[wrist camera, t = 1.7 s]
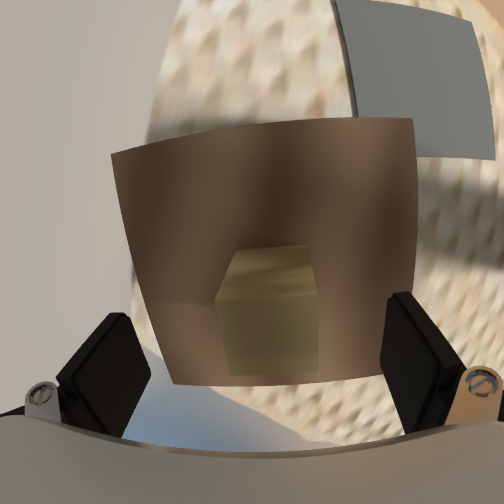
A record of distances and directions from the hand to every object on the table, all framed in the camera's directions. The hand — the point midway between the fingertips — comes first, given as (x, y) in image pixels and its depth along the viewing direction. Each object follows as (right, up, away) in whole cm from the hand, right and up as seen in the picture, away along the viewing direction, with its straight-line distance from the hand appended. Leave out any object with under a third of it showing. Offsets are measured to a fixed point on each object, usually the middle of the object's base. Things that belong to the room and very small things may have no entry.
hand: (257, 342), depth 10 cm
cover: (+2, +7, +18) cm, 19 cm away
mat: (+17, +21, +11) cm, 29 cm away
